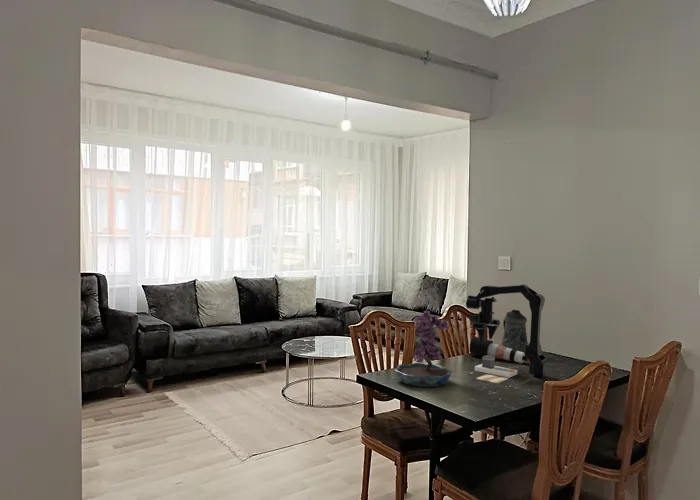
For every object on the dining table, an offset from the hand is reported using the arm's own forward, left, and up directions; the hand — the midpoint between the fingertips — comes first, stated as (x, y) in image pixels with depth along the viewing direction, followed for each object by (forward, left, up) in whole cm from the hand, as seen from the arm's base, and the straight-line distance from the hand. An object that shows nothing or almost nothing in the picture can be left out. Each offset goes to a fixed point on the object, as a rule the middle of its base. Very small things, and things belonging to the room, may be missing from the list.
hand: (486, 340), depth 274 cm
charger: (-6, +9, -13) cm, 17 cm away
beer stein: (+5, -44, -14) cm, 46 cm away
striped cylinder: (+2, -23, -14) cm, 27 cm away
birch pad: (-14, +21, -14) cm, 29 cm away
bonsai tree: (+8, +43, -14) cm, 46 cm away
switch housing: (-10, +9, -14) cm, 20 cm away
